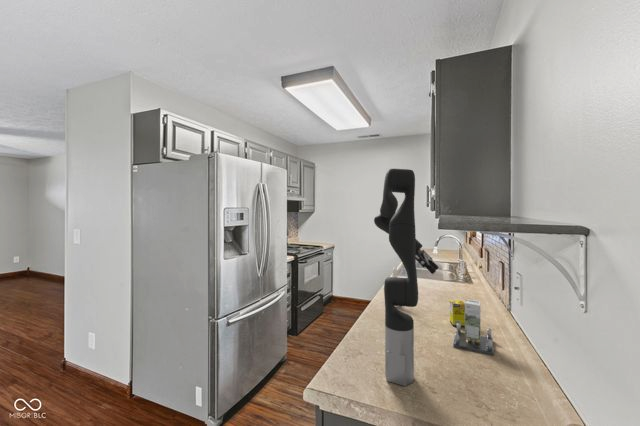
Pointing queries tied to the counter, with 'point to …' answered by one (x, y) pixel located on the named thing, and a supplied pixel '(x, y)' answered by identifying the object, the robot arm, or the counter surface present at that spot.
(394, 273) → the cosmetic bottle
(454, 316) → the supplement box
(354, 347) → the counter surface
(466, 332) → the syrup box
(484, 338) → the chassis plate
